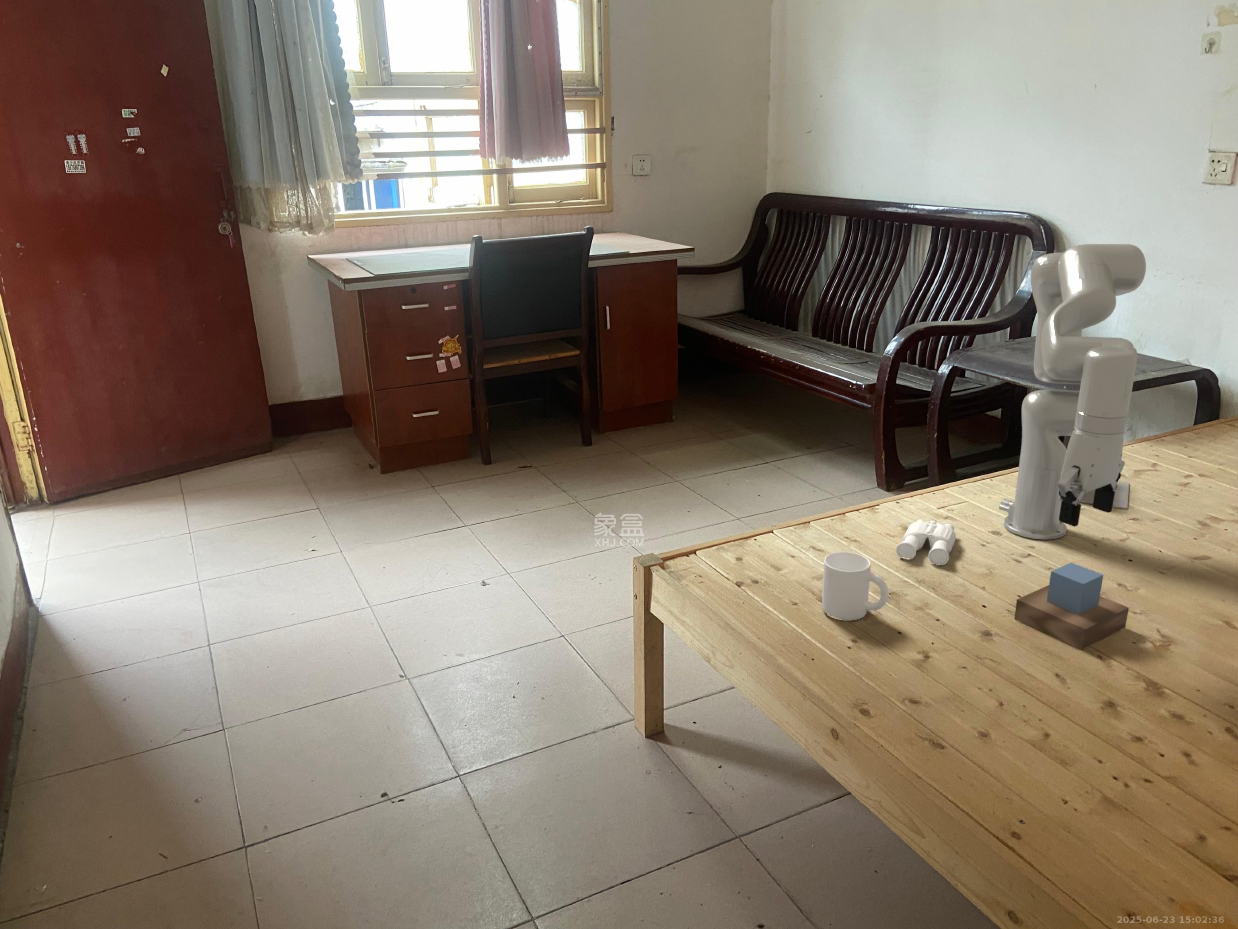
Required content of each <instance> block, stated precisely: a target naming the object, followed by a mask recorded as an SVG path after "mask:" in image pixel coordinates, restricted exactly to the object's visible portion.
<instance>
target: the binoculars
mask: <svg viewBox="0 0 1238 929" xmlns="http://www.w3.org/2000/svg"><path fill="white" fill-rule="evenodd" d="M927 538H928V540H929V546H930V550H929V552H928V555H927V556H928V560H929V562H930V563H931V564H933V565H934V564H937V565H939V564H940V565H942V566H944V565H946V564H947V563H948V562H949V560H950V553H951V552H952V549H953V547H954V544H955V542H956V538H957V535H956V532H955V526H954V525H953V524H951V523H946V524H943V523H940V522H937V521H936V520H935V519H933V520H930V521H929V520H928V521H925V519H922V518H921V519H917V520H916V521H914V522H913V523H911V524H910V525H909V526H908V528H907V530H906V532H905V534H904V535H903V537H902V541H901V542H899V544H898V545H897V546H896V550H895V553H896V554H897V556H898V557H899V558H900V557H905V558H910V559H911V560H913V559H914V558H915V557H916V555H917V549H920V550H921V549H922V548H923V546H924V544H925V542H926V540H927ZM937 565H936V566H937Z"/></svg>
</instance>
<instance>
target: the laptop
mask: <svg viewBox="0 0 1238 929" xmlns="http://www.w3.org/2000/svg"><path fill="white" fill-rule="evenodd" d="M1117 484H1118V487H1117V489H1116V490H1115V495H1114V501H1113V507H1112V509H1113V508H1115V509H1125V510H1128V509H1129V508H1128V507H1129V506H1128V505H1129V494H1130V492H1129V491H1130V482H1126V481H1119V480H1118V482H1117ZM1074 485H1077V486H1081V487H1082V485H1080V484H1077V483H1075V484H1074ZM1113 491H1114V490H1113ZM1071 492H1072V493H1073V494H1074V496H1076V494H1077V492H1078V491H1076V490H1073V489H1072V491H1071ZM1094 494H1095V490H1092V491H1089V492H1085V493H1084V495H1083V497H1082V499H1081V500H1080V502H1079V504H1082V503H1083V504H1085V505H1086V504H1090V505H1093V501H1094Z"/></svg>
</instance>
